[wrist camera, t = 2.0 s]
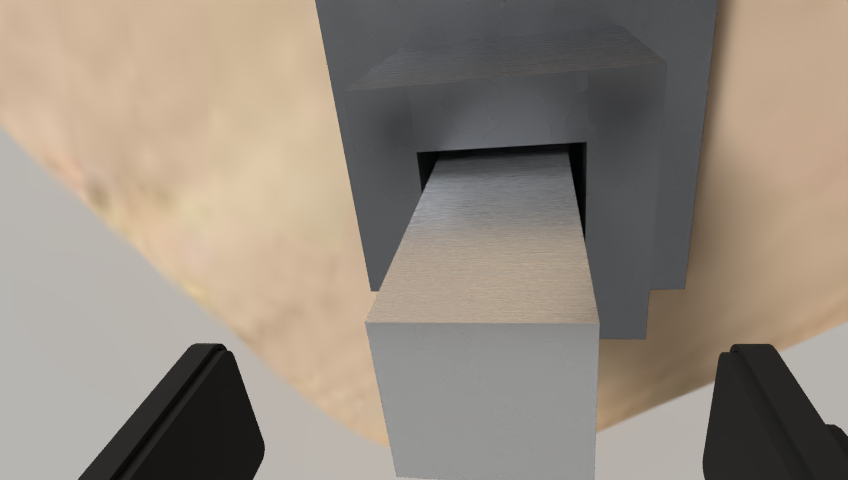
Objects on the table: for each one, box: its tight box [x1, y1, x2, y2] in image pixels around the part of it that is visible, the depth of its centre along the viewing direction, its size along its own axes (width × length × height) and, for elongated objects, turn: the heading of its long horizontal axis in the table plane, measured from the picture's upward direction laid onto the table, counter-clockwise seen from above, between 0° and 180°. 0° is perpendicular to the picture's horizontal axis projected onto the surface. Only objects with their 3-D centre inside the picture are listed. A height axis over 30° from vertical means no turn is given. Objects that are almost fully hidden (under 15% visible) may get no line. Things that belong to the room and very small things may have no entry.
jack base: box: [315, 0, 718, 339], centre depth 21 cm, size 16×16×10 cm
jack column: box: [365, 143, 600, 480], centre depth 17 cm, size 4×4×16 cm
